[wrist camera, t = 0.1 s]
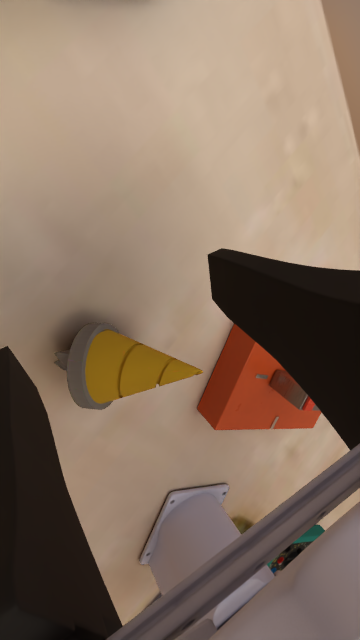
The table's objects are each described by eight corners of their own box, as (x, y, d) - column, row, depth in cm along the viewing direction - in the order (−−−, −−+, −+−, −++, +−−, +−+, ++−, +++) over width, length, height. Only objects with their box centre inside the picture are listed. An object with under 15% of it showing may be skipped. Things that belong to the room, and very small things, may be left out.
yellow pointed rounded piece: (40, 308, 21) (197, 310, 18) (83, 338, 26) (214, 343, 23) (14, 395, 19) (185, 412, 16) (66, 410, 24) (206, 425, 21)
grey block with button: (320, 375, 33) (355, 398, 30) (312, 389, 33) (346, 413, 30) (276, 369, 29) (310, 394, 26) (268, 385, 30) (301, 412, 27)
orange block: (337, 324, 36) (364, 337, 34) (292, 411, 39) (314, 429, 37) (245, 297, 29) (271, 311, 26) (196, 408, 31) (215, 431, 29)
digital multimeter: (266, 524, 48) (280, 544, 45) (318, 521, 57) (333, 537, 54) (238, 564, 49) (251, 585, 46) (294, 555, 58) (308, 572, 55)
